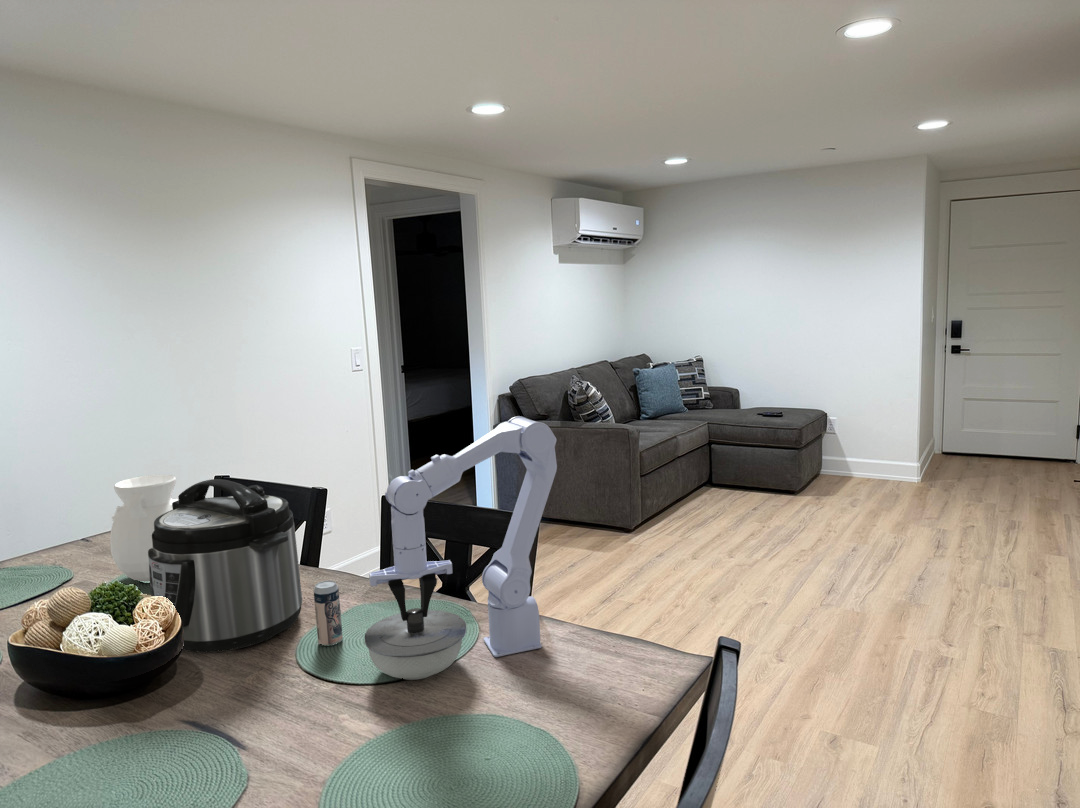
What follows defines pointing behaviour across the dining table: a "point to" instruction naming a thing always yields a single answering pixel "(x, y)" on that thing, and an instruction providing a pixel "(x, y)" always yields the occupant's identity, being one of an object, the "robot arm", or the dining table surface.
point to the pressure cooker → (227, 565)
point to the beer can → (328, 613)
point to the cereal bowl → (416, 663)
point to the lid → (415, 633)
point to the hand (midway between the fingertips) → (414, 616)
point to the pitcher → (138, 521)
